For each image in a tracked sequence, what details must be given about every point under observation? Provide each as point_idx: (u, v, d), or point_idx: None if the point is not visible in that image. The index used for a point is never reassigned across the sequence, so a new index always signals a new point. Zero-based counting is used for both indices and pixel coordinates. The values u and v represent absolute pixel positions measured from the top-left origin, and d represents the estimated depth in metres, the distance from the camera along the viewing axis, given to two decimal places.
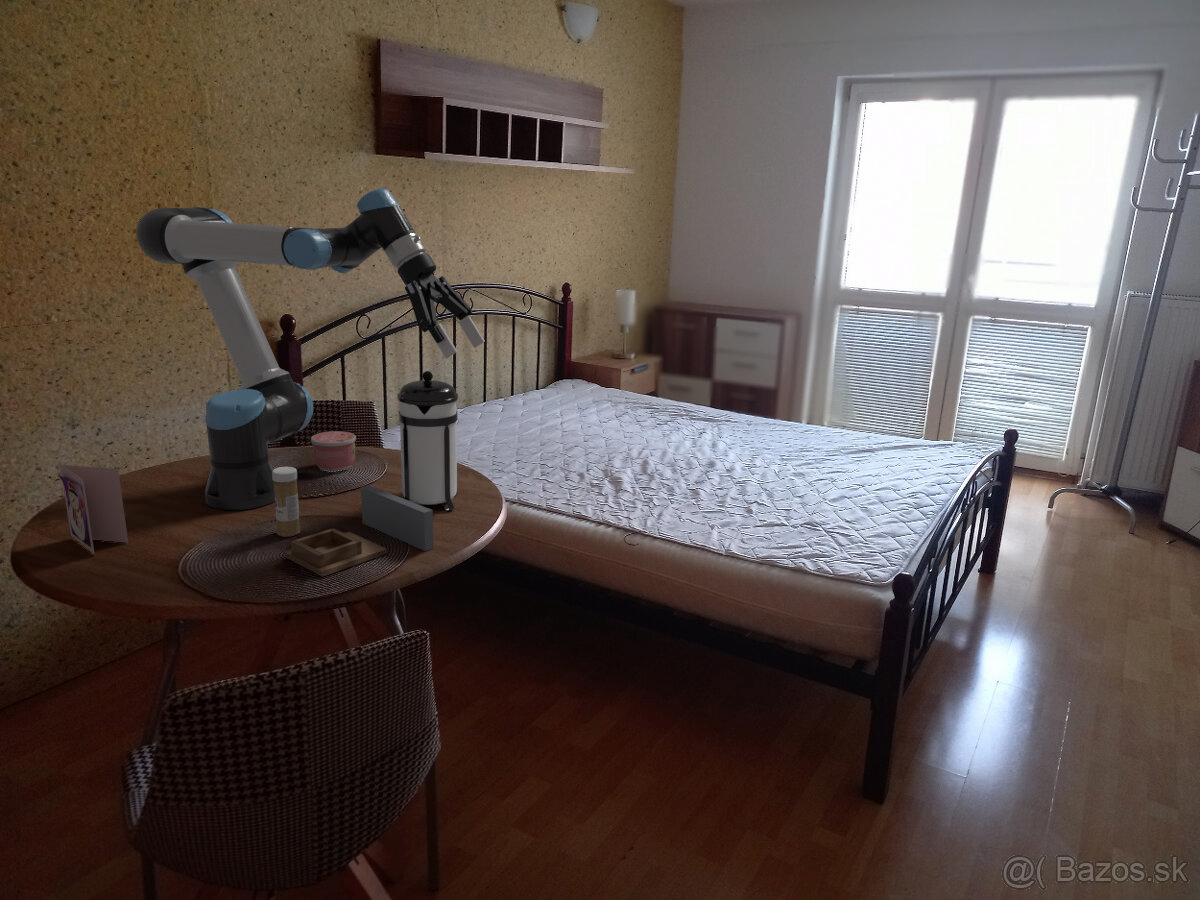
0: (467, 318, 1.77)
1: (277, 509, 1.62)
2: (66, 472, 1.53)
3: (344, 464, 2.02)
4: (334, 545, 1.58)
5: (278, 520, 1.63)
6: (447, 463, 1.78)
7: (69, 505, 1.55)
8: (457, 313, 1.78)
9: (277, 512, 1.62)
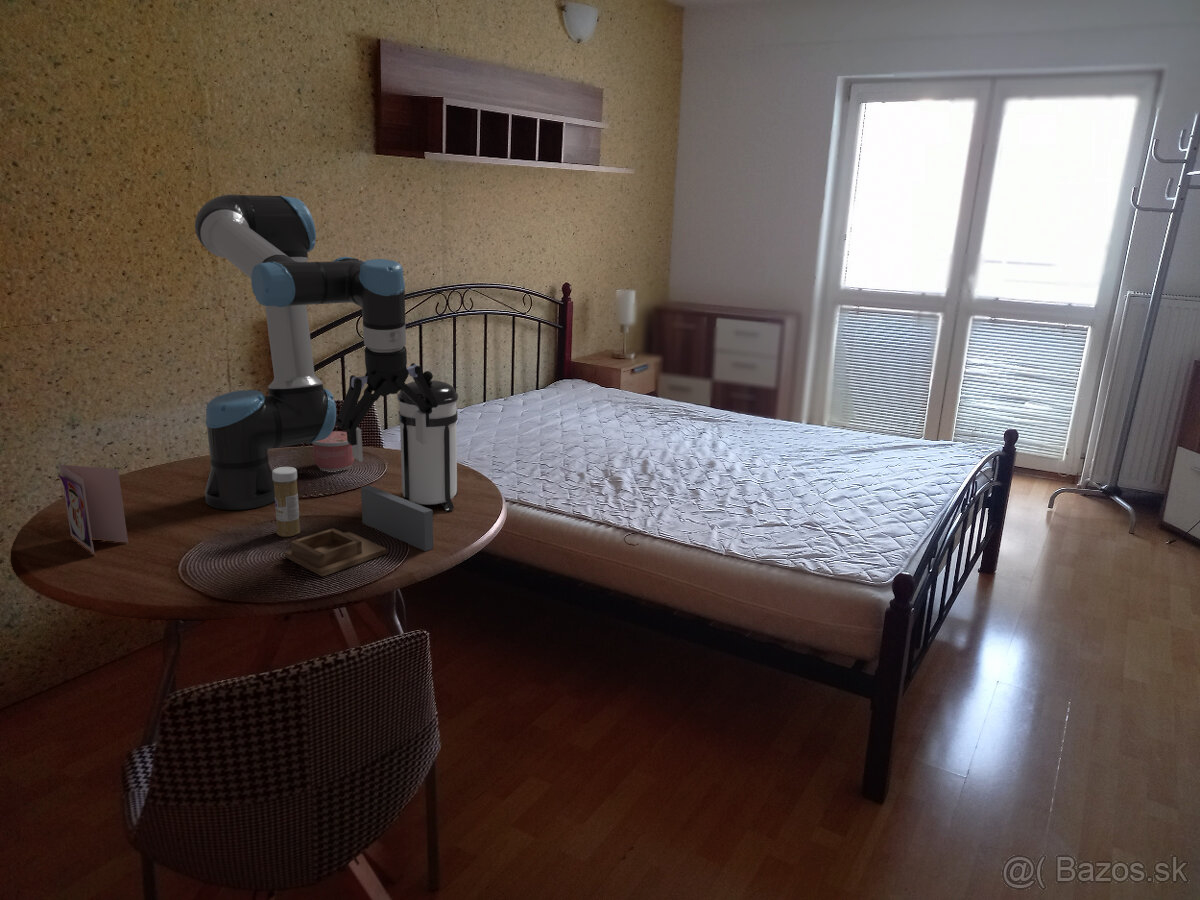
0: (421, 416, 1.62)
1: (277, 509, 1.62)
2: (66, 472, 1.53)
3: (344, 464, 2.02)
4: (334, 545, 1.58)
5: (278, 520, 1.63)
6: (447, 463, 1.78)
7: (69, 505, 1.55)
8: (416, 404, 1.61)
9: (277, 512, 1.62)
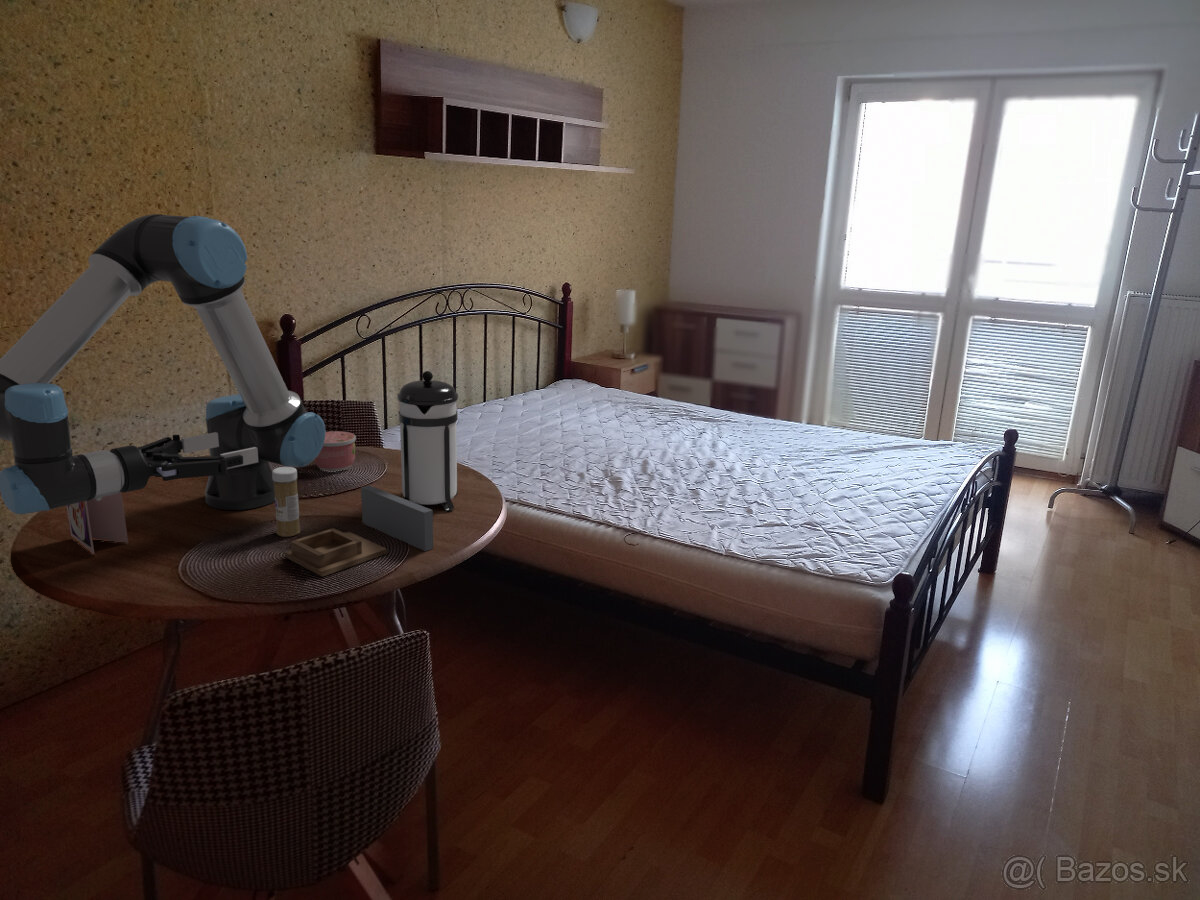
0: None
1: (277, 509, 1.62)
2: None
3: (344, 464, 2.02)
4: (334, 545, 1.58)
5: (278, 520, 1.63)
6: (447, 463, 1.78)
7: (69, 505, 1.55)
8: None
9: (277, 512, 1.62)
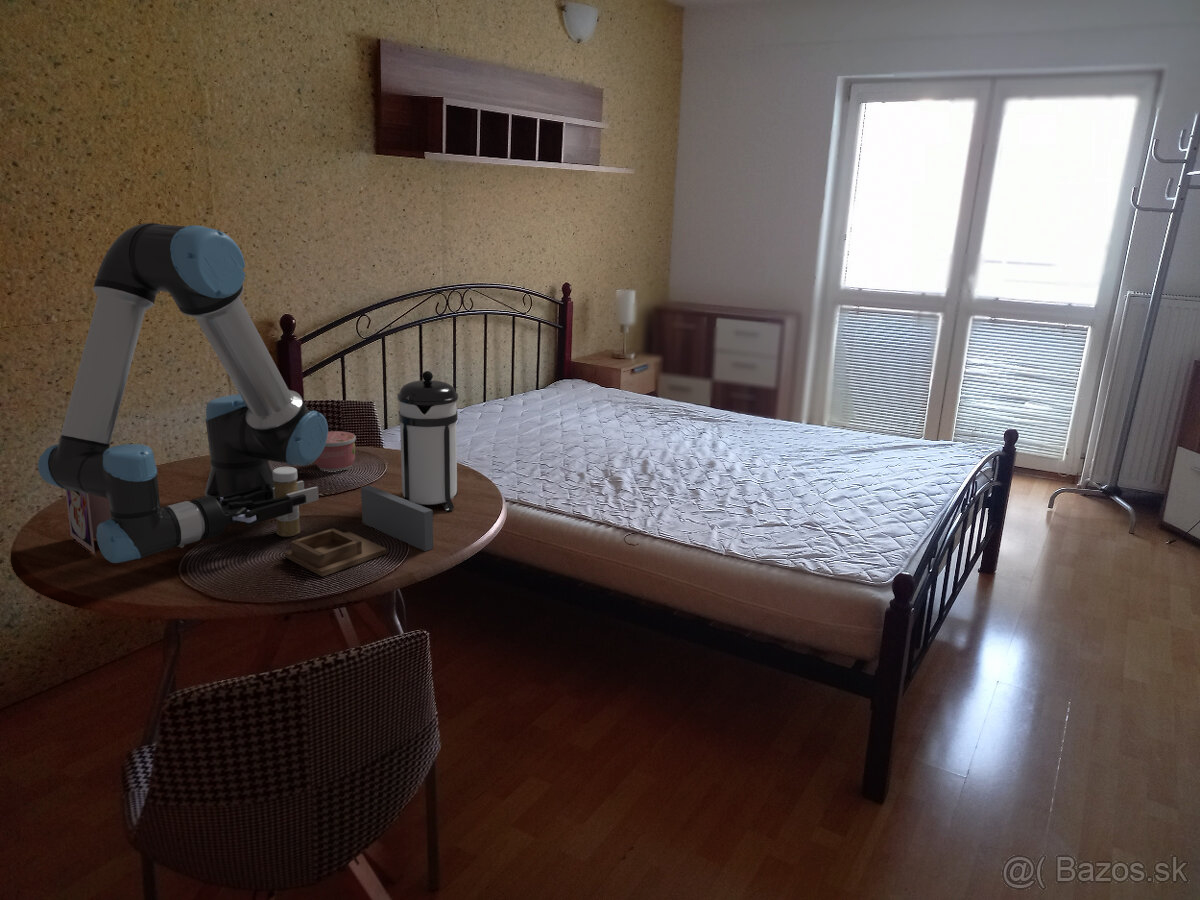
0: None
1: None
2: None
3: (344, 464, 2.02)
4: (334, 545, 1.58)
5: (278, 520, 1.63)
6: (447, 463, 1.78)
7: (70, 504, 1.55)
8: None
9: None
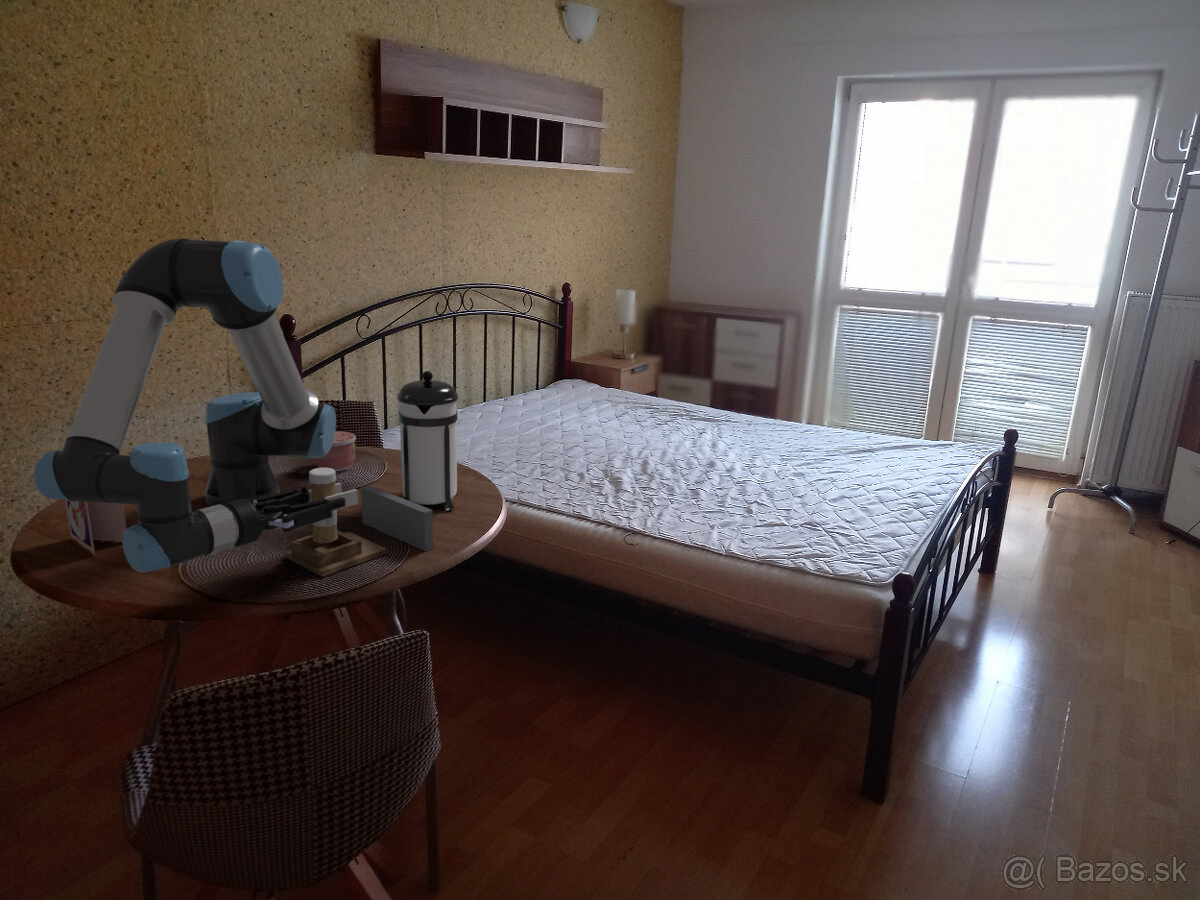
0: None
1: None
2: None
3: (344, 464, 2.02)
4: (334, 545, 1.58)
5: (315, 525, 1.50)
6: (447, 463, 1.78)
7: (69, 505, 1.55)
8: None
9: None
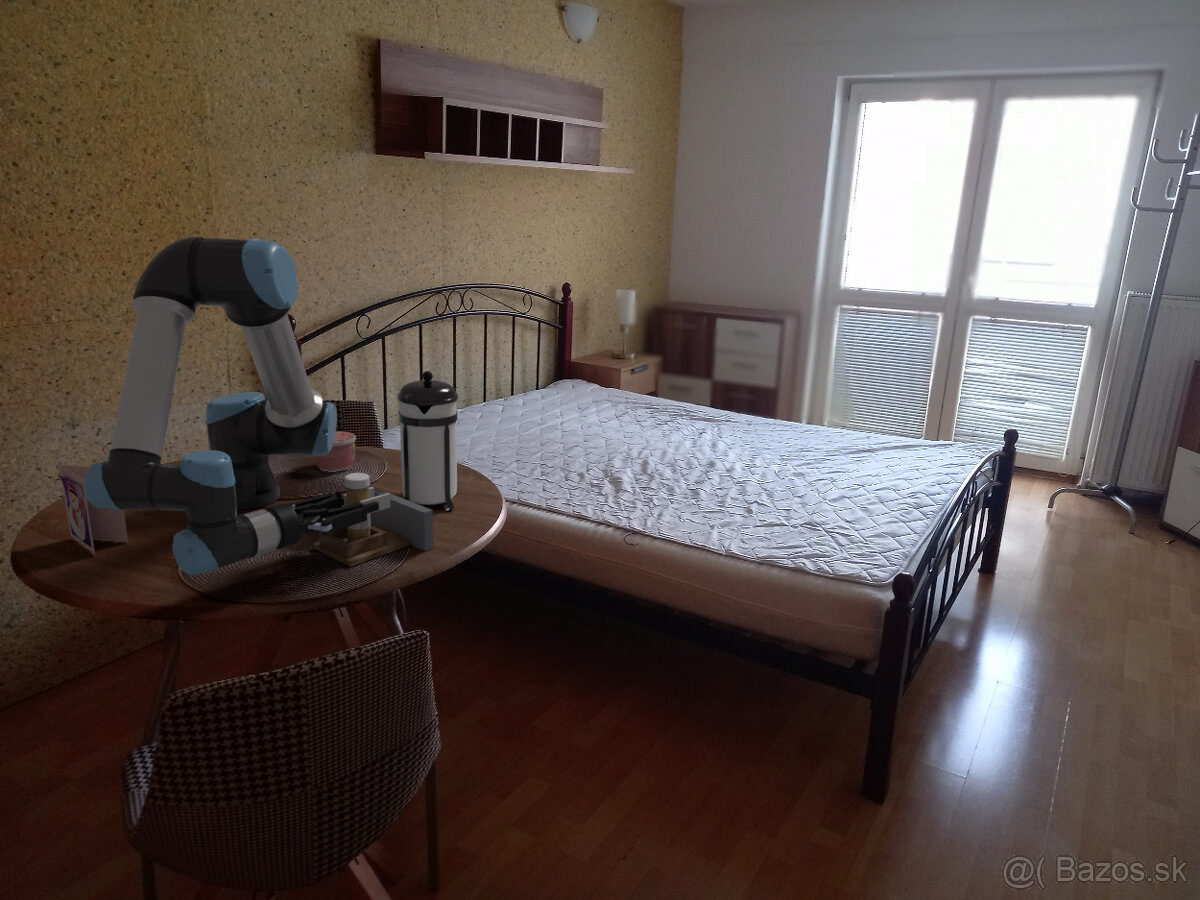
0: None
1: None
2: (66, 472, 1.53)
3: (344, 464, 2.02)
4: None
5: (350, 528, 1.57)
6: (447, 463, 1.78)
7: (69, 505, 1.55)
8: None
9: None
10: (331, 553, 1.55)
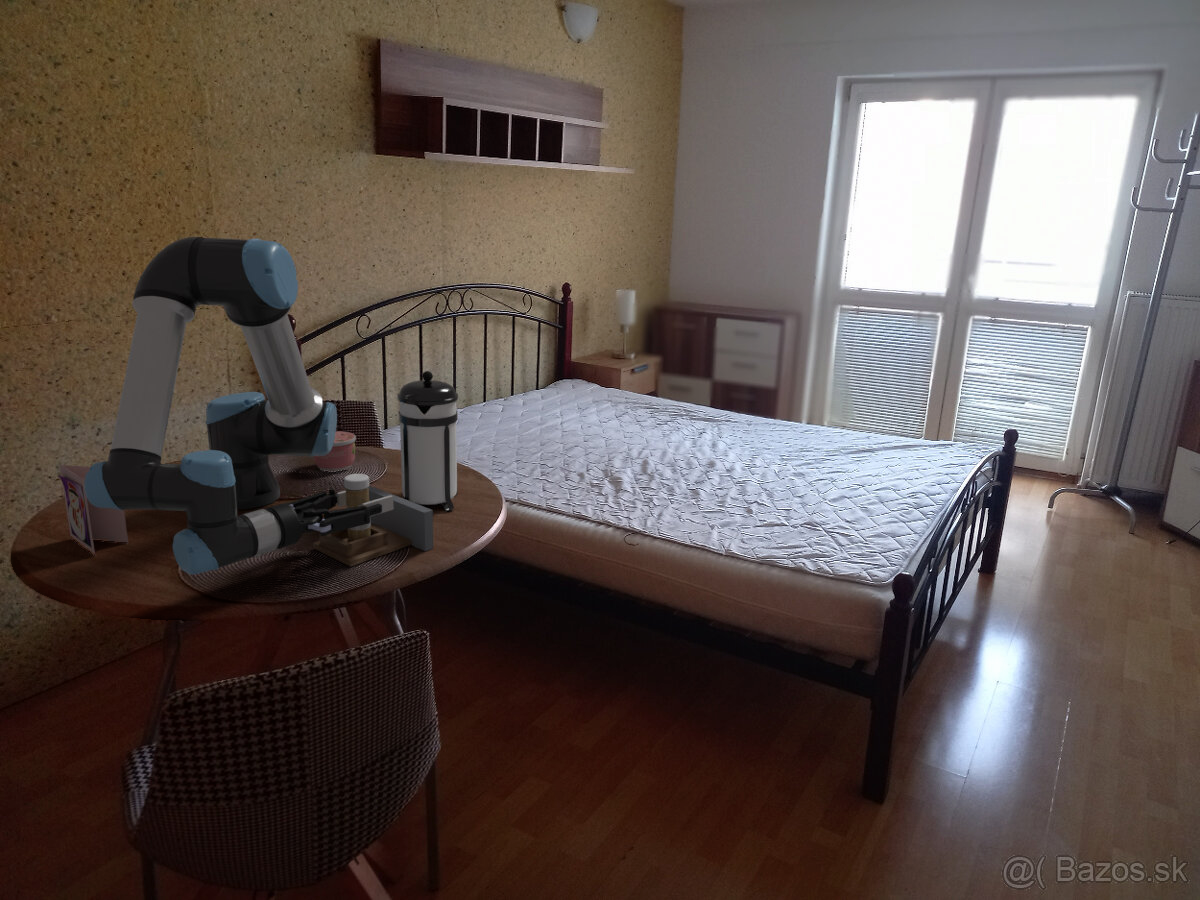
0: None
1: None
2: (66, 472, 1.53)
3: (344, 464, 2.02)
4: None
5: (350, 529, 1.57)
6: (447, 463, 1.78)
7: (69, 505, 1.55)
8: None
9: None
10: (331, 553, 1.55)
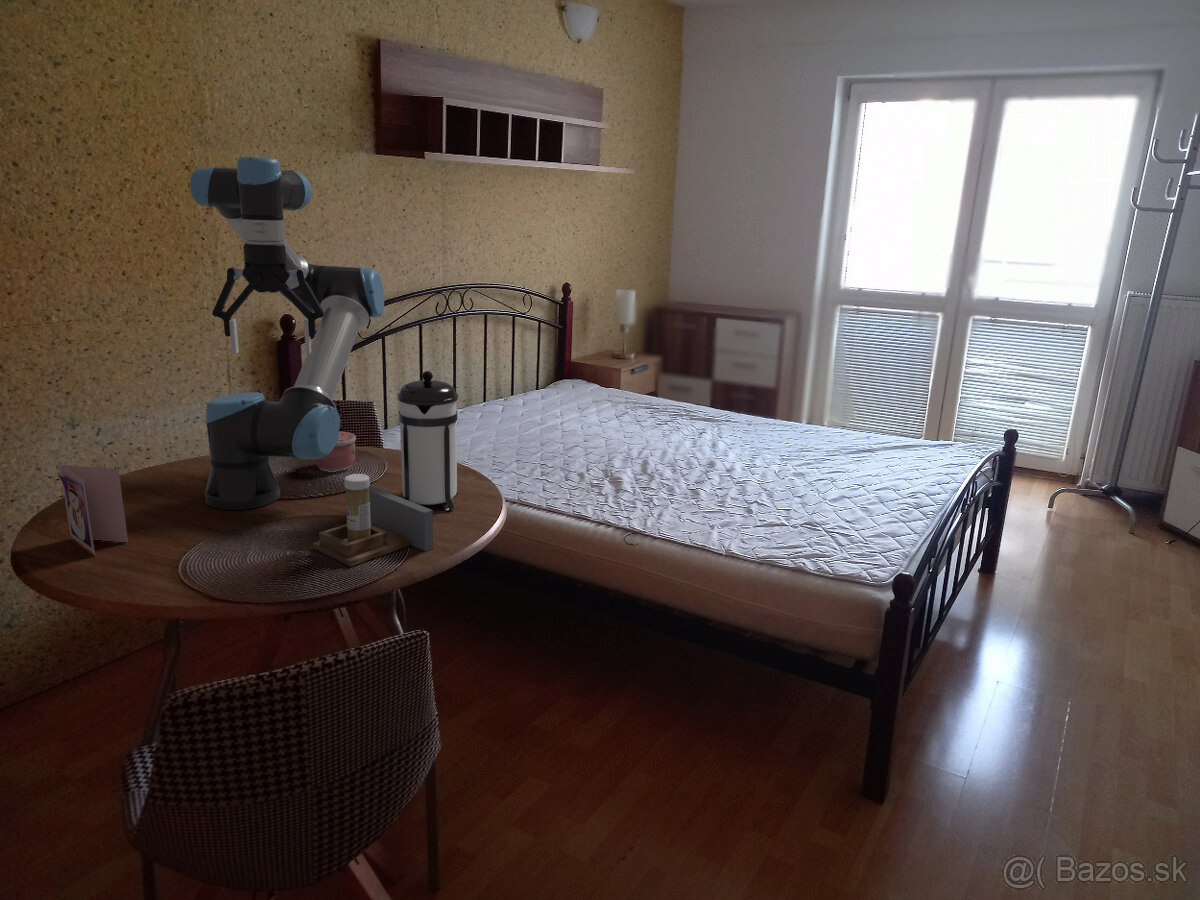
0: (304, 323, 1.62)
1: (349, 518, 1.56)
2: (66, 472, 1.53)
3: (344, 464, 2.02)
4: None
5: (350, 529, 1.57)
6: (447, 463, 1.78)
7: (69, 505, 1.55)
8: None
9: (349, 521, 1.56)
10: (331, 553, 1.55)
